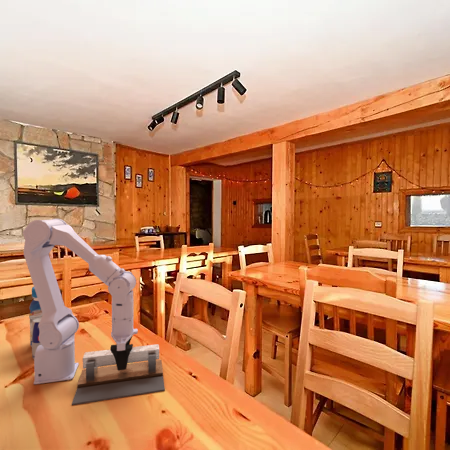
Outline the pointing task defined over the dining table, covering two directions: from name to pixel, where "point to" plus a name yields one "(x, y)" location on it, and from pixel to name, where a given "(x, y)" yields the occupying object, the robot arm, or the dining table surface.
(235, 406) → the dining table surface
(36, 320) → the energy drink
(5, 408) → the dining table surface
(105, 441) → the dining table surface
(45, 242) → the robot arm
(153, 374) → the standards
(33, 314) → the beverage bottle
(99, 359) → the rail
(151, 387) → the dark grey flat panel
